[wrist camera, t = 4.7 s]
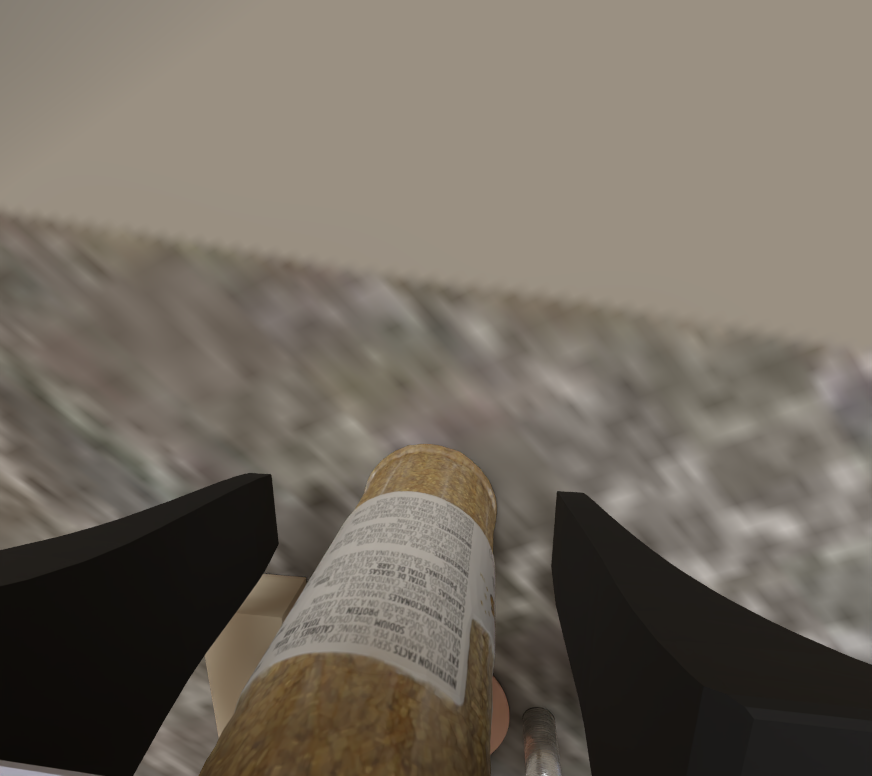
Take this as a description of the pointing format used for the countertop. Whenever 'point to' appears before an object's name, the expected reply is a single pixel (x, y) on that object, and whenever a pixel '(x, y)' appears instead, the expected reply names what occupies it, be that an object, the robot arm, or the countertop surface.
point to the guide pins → (540, 743)
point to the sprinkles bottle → (383, 639)
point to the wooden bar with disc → (256, 631)
